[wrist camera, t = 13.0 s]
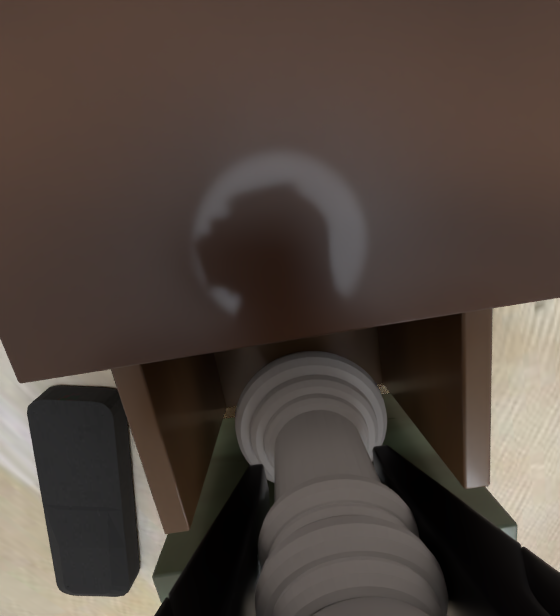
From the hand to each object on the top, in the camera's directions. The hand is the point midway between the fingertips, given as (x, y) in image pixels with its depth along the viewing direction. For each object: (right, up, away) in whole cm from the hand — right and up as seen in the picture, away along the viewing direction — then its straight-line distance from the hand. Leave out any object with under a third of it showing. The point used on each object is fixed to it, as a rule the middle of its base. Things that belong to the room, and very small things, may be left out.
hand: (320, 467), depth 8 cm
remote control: (-13, 0, +8) cm, 15 cm away
